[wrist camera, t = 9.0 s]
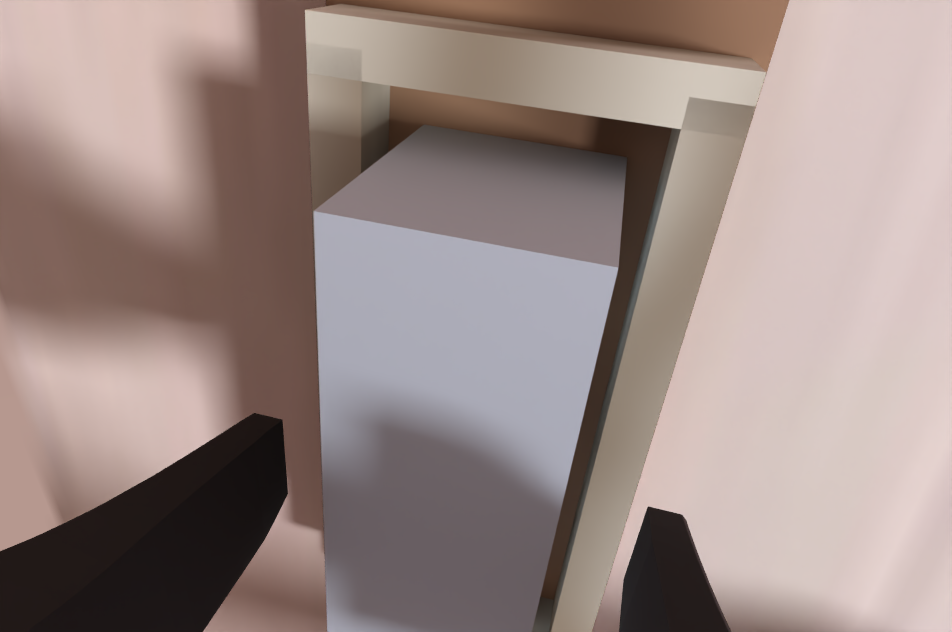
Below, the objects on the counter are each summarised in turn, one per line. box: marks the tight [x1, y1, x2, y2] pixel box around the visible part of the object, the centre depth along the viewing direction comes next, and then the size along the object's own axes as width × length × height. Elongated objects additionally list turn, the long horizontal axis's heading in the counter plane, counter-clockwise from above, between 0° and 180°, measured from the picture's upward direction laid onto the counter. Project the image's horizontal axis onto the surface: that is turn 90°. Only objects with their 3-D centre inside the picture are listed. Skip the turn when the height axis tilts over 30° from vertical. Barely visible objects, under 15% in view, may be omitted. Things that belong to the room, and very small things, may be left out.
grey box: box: [314, 125, 627, 632], centre depth 13 cm, size 4×12×5 cm, turn 174°
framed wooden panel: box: [305, 0, 789, 632], centre depth 15 cm, size 8×18×2 cm, turn 174°
